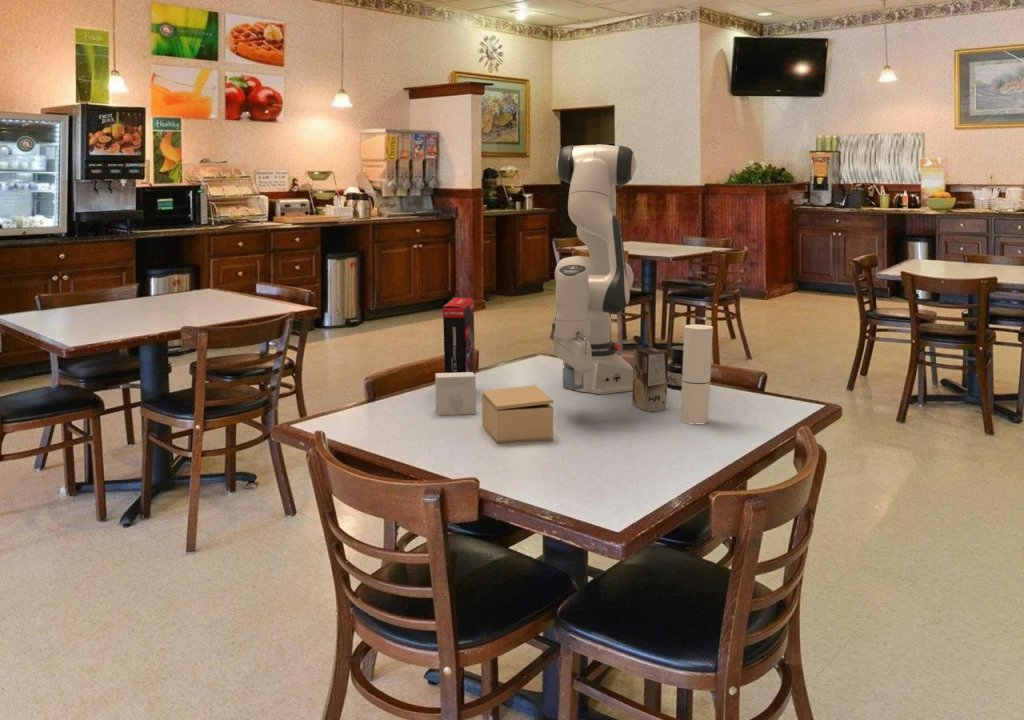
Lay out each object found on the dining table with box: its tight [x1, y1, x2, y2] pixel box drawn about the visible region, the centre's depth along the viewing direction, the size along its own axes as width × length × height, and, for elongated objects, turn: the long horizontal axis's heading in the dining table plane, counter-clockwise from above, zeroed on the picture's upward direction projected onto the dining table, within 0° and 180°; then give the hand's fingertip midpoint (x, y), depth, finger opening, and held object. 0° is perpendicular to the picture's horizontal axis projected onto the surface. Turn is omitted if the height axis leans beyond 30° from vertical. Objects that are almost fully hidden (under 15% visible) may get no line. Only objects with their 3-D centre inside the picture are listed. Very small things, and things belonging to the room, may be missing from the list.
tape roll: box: [562, 366, 584, 391], centre depth 244 cm, size 5×5×5 cm
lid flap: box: [481, 384, 554, 410], centre depth 231 cm, size 14×16×1 cm
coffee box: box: [631, 346, 669, 413], centre depth 257 cm, size 9×6×16 cm
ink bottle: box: [667, 345, 684, 390], centre depth 282 cm, size 10×9×12 cm
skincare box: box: [434, 372, 477, 416], centre depth 251 cm, size 10×6×10 cm, turn 98°
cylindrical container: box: [679, 323, 714, 425], centre depth 242 cm, size 7×7×25 cm
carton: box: [481, 394, 554, 444], centre depth 232 cm, size 14×16×8 cm
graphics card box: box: [442, 297, 476, 376], centre depth 269 cm, size 17×7×27 cm, turn 174°
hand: (573, 380), depth 244 cm, fingers closed on tape roll, 5 cm apart
